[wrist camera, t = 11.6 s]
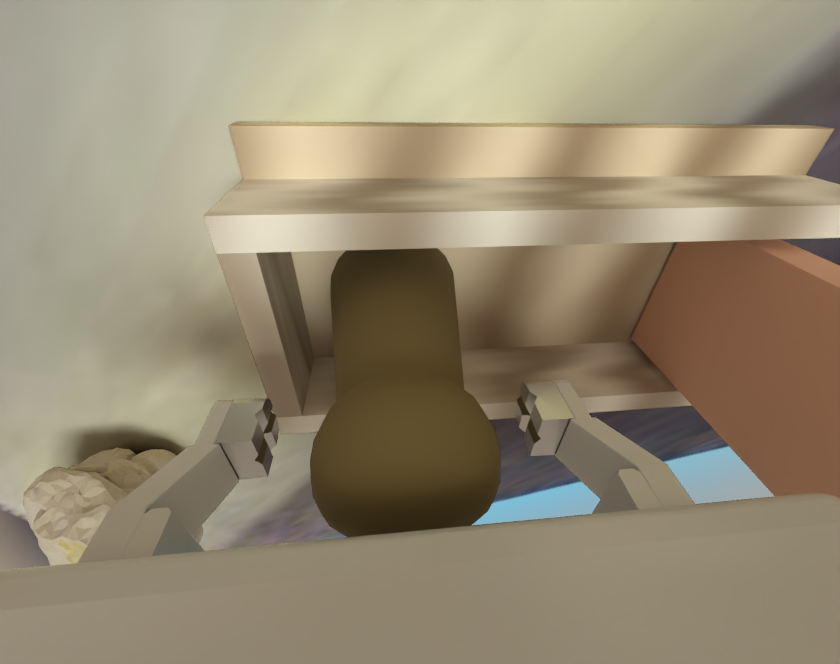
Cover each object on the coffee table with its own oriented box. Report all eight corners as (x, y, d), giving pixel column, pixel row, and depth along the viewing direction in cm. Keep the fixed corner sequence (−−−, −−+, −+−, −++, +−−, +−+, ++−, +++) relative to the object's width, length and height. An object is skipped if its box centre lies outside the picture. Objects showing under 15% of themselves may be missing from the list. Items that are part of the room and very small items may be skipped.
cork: (344, 214, 15) (299, 433, 6) (474, 251, 16) (586, 467, 8) (320, 327, 18) (268, 573, 9) (430, 348, 20) (473, 576, 11)
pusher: (723, 213, 16) (1204, 428, 7) (656, 336, 21) (894, 571, 11) (690, 214, 16) (1136, 434, 7) (630, 338, 21) (848, 577, 11)
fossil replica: (132, 517, 29) (254, 487, 30) (81, 648, 23) (235, 608, 24) (-1, 440, 21) (170, 402, 22) (-134, 612, 15) (109, 552, 16)
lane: (811, 125, 15) (960, 147, 12) (668, 363, 24) (726, 423, 20) (236, 121, 13) (178, 148, 9) (304, 384, 22) (288, 456, 18)
